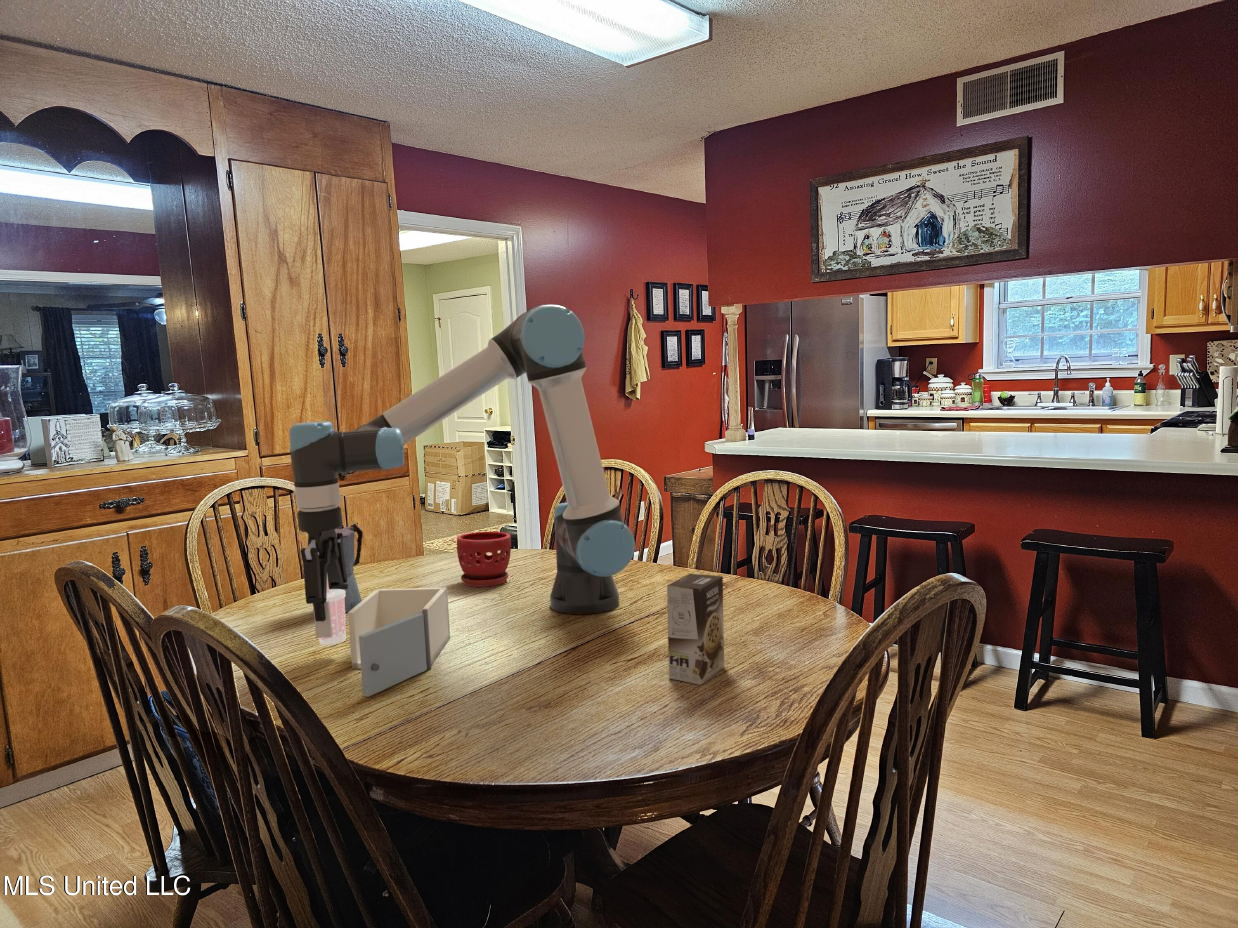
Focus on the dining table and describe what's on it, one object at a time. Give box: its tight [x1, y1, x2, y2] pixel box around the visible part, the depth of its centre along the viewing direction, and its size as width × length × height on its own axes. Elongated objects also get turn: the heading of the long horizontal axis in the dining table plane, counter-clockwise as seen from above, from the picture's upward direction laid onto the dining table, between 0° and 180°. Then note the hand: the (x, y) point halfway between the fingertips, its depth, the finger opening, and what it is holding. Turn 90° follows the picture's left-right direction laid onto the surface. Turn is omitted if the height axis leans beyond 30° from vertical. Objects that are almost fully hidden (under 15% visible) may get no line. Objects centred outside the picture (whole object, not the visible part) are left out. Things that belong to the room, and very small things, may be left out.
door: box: [359, 613, 428, 698], centre depth 134 cm, size 13×2×10 cm, turn 148°
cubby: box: [347, 587, 451, 671], centre depth 149 cm, size 14×16×11 cm
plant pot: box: [456, 531, 512, 588], centre depth 198 cm, size 13×13×12 cm
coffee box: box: [666, 573, 725, 686], centre depth 134 cm, size 9×6×16 cm
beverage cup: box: [318, 576, 347, 646], centre depth 147 cm, size 6×6×14 cm
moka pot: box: [328, 523, 364, 614], centre depth 179 cm, size 10×15×20 cm, turn 158°
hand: (331, 630), depth 148 cm, fingers closed on beverage cup, 6 cm apart
